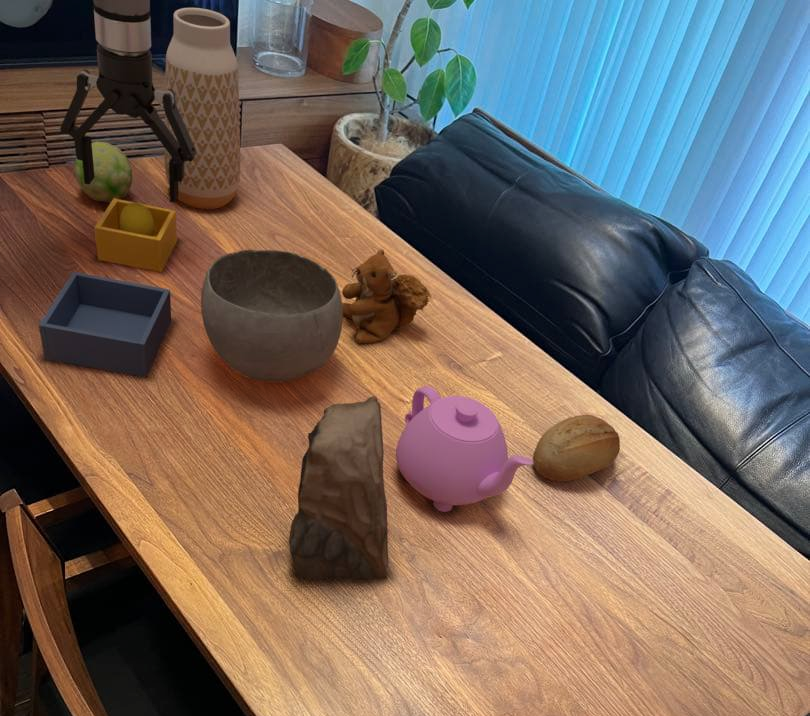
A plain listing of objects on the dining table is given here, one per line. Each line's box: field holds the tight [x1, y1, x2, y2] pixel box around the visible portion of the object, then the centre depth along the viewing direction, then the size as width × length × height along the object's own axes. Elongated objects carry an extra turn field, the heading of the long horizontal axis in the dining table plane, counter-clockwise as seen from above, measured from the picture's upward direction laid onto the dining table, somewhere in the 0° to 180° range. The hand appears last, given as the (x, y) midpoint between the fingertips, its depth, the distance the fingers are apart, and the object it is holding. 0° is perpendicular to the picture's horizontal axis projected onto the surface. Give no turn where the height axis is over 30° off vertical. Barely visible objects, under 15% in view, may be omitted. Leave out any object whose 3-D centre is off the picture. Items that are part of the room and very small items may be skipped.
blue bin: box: [38, 271, 172, 378], centre depth 120 cm, size 15×15×6 cm
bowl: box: [200, 249, 344, 383], centre depth 119 cm, size 21×20×15 cm
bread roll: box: [532, 414, 621, 482], centre depth 119 cm, size 10×15×8 cm, turn 125°
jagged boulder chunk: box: [288, 395, 389, 581], centre depth 96 cm, size 13×13×20 cm
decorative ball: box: [74, 141, 133, 203], centre depth 144 cm, size 10×10×10 cm
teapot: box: [395, 385, 534, 513], centre depth 109 cm, size 22×16×14 cm
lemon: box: [120, 201, 154, 237], centre depth 135 cm, size 6×6×8 cm
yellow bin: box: [93, 198, 178, 273], centre depth 137 cm, size 11×11×6 cm
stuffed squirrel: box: [341, 248, 433, 344], centre depth 132 cm, size 10×14×13 cm
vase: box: [164, 7, 241, 210], centre depth 144 cm, size 14×14×31 cm
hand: (132, 189), depth 131 cm, fingers open, 13 cm apart
